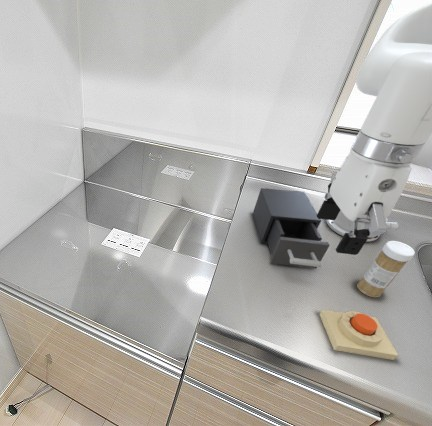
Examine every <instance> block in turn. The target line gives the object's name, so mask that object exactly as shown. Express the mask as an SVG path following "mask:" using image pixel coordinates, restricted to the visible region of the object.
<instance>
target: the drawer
mask: <svg viewBox="0 0 432 426" xmlns="http://www.w3.org/2000/svg"><path fill="white" fill-rule="evenodd" d="M266 238H267V242H268V244H267V245H268V247H269V250H270V253H271V256H270V258H269V261H270V263H271V264H276V265H285V266H293V267H300V268H309V269H317V268H321V266H322V260H323V258H324V256H325V254H327V253H326V252H327V251H328V250H329V248H330V242H328V241H322V240H323V237H322V236H321V234H320V232H319V229H318V228H316V227H315V225H314V223H313V222H304V221H294V220H284V219H273V222H272V224H271V227H270V229H269V232H268V234H267V237H266Z"/></svg>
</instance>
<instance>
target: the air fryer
mask: <svg viewBox="0 0 432 426" xmlns="http://www.w3.org/2000/svg"><path fill="white" fill-rule="evenodd" d="M307 195H308V194H306V192H305V191H301V190H300V191H298V190H288V189H275V188H264V187H263V188H262V187H261V188H260V190H259V193H258V196H257V200H256V202H255V205H254V208H253V212H252V218H253V221H254V224H255V228H256V231H257V235H258V239H259V242H260V244H262V245H268V242H267V238H266V237H267V234H268V232H269V229H270V227H271V224H272V222H273V219H284V220H294V221H304V222H313V223H314V225H315V227H316V228H317V229H318V228H319V227H320V224H321V222H322V219H318V218H317V214H318V212H317V211H316V208H315V207H314V205H313V204H312V202H311V200H310V199H309V197H308V196H307Z"/></svg>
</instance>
